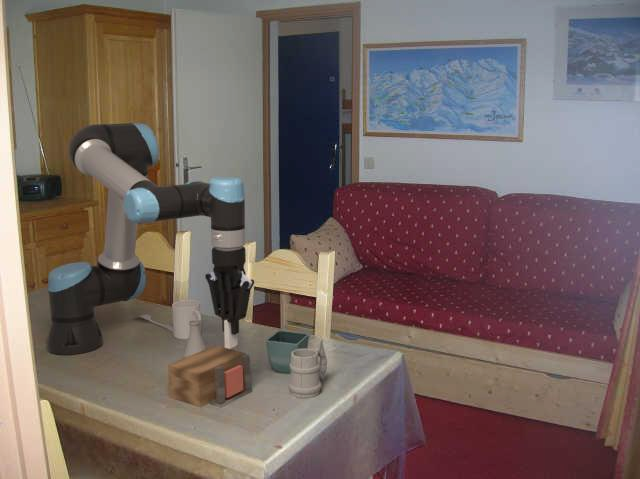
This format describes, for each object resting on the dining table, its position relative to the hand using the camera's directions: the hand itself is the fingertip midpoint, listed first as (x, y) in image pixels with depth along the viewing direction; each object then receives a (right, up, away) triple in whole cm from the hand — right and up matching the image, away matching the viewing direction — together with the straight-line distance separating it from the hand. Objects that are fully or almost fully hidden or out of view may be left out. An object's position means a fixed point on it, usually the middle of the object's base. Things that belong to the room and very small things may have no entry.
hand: (231, 346), depth 161 cm
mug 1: (-18, -4, +46) cm, 49 cm away
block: (-5, -12, +5) cm, 14 cm away
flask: (-13, -8, +29) cm, 33 cm away
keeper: (0, -11, +2) cm, 11 cm away
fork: (-31, -2, +58) cm, 66 cm away
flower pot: (+12, -9, +19) cm, 24 cm away
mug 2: (+18, -12, +7) cm, 23 cm away
